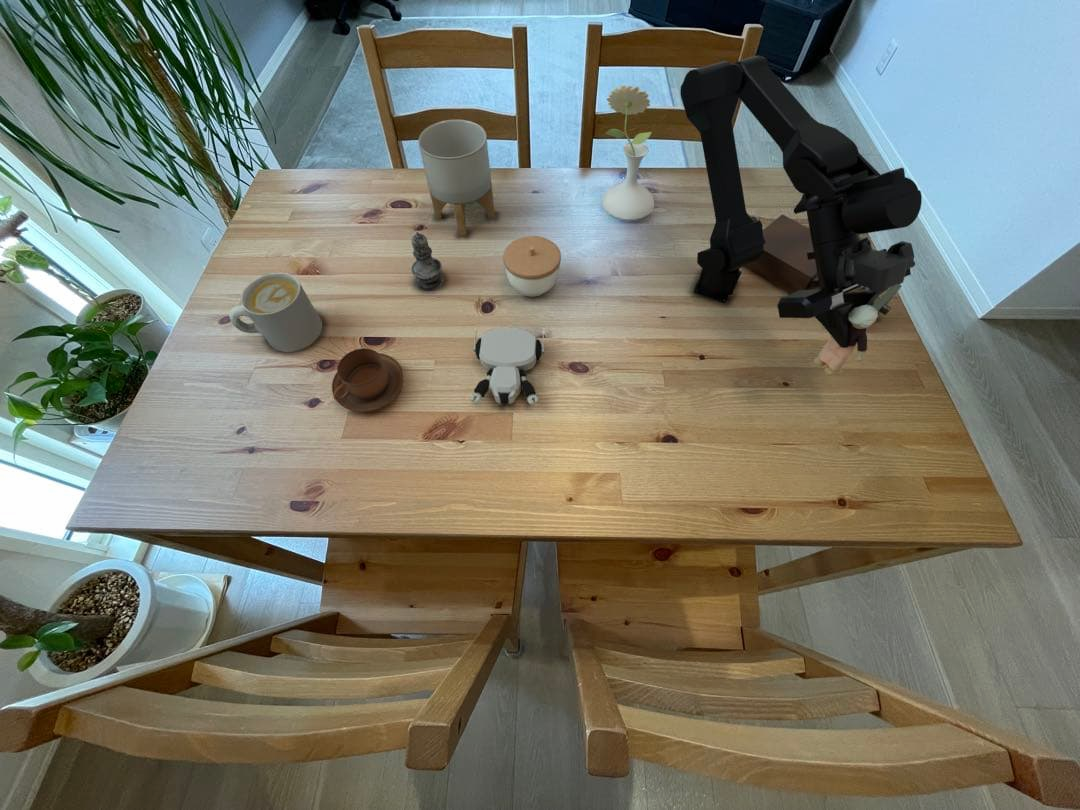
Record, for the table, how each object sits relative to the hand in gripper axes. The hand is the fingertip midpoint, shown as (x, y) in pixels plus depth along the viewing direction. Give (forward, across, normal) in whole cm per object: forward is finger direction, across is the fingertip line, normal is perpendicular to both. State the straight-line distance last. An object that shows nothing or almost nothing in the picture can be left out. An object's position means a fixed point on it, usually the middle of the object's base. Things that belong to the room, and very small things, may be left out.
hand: (852, 343), depth 75 cm
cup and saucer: (-15, -67, +35) cm, 77 cm away
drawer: (0, +20, +18) cm, 27 cm away
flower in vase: (-30, -3, +50) cm, 58 cm away
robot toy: (-9, -44, +29) cm, 54 cm away
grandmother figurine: (+4, 0, +6) cm, 7 cm away
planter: (-39, -35, +60) cm, 79 cm away
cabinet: (-9, +16, +28) cm, 33 cm away
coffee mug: (-28, -78, +49) cm, 96 cm away
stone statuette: (-28, -49, +49) cm, 75 cm away
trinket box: (-21, -31, +41) cm, 56 cm away
